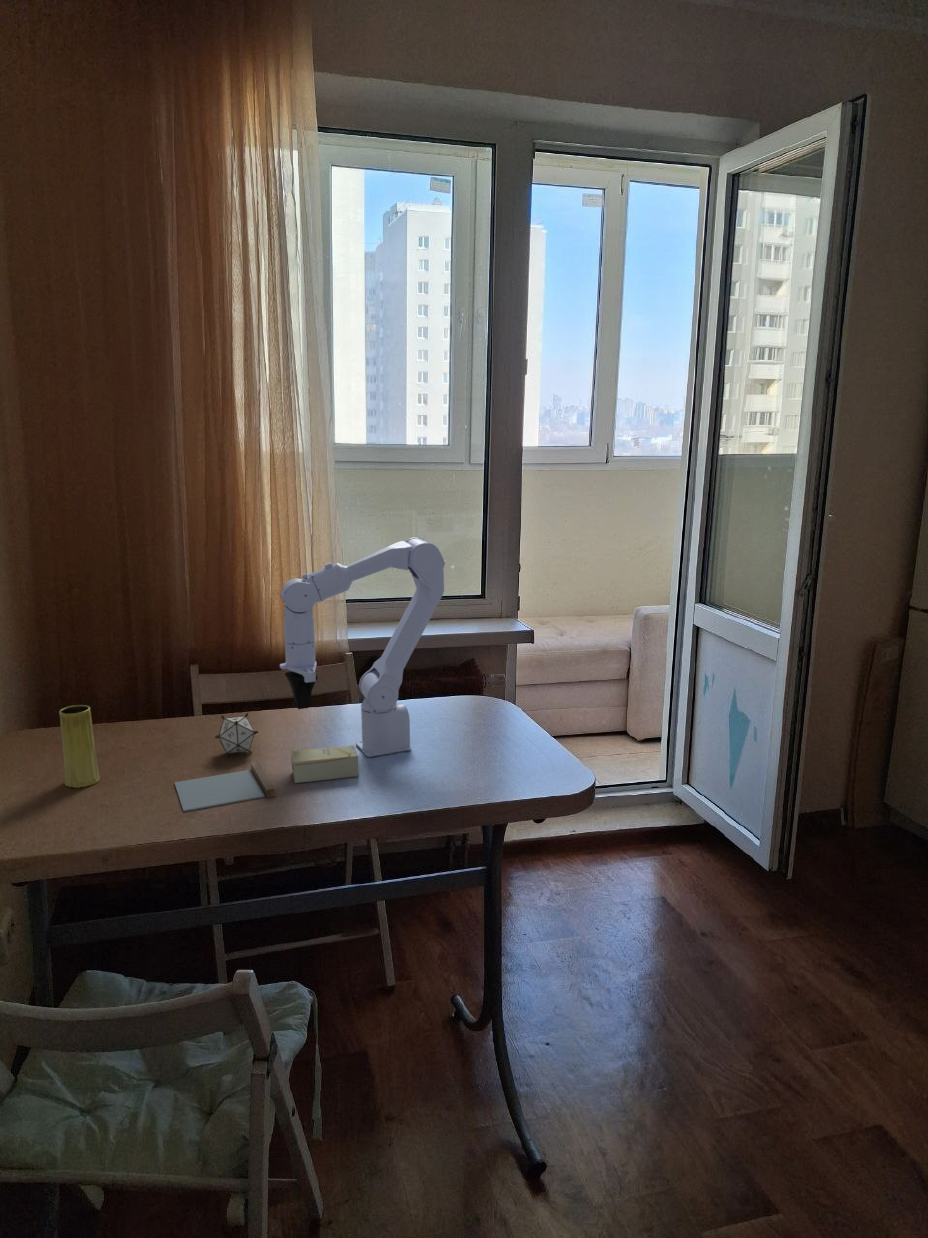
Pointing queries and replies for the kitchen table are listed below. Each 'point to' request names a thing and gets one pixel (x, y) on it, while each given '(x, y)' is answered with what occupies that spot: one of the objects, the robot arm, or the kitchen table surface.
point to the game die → (236, 734)
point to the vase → (78, 746)
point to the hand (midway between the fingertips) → (302, 707)
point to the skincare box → (324, 764)
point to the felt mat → (218, 790)
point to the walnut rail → (263, 779)
